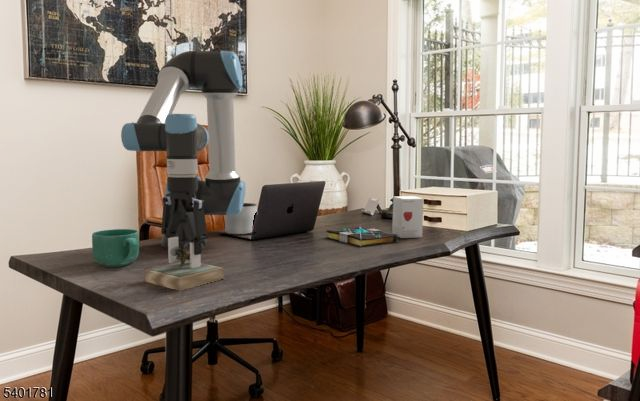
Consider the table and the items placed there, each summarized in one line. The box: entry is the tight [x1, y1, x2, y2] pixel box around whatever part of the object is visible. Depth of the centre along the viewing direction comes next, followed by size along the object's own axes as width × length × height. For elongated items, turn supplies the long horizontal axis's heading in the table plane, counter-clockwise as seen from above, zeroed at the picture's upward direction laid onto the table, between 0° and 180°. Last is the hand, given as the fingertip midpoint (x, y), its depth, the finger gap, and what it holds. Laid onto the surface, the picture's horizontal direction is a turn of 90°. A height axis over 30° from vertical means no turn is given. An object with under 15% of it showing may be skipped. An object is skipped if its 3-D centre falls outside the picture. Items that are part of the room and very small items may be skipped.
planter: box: [224, 202, 258, 235], centre depth 209 cm, size 12×13×11 cm
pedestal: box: [144, 260, 225, 292], centre depth 137 cm, size 14×14×3 cm
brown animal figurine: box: [170, 239, 207, 266], centre depth 139 cm, size 8×7×9 cm
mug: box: [91, 228, 140, 268], centre depth 153 cm, size 17×13×10 cm
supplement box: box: [391, 195, 424, 239], centre depth 204 cm, size 9×9×15 cm
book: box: [325, 225, 399, 248], centre depth 195 cm, size 22×17×5 cm
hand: (184, 264), depth 137 cm, fingers closed on brown animal figurine, 8 cm apart
